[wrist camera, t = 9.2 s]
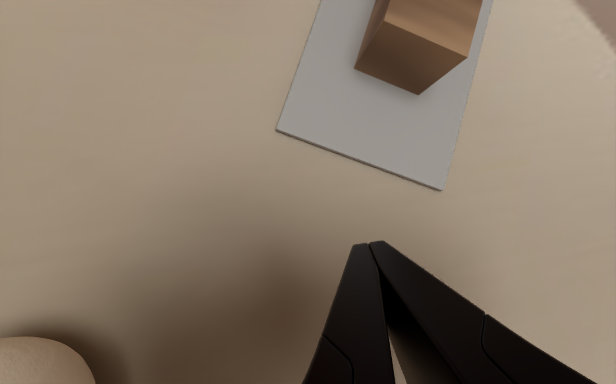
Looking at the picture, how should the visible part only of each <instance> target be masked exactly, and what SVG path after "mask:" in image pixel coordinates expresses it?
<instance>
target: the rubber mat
mask: <svg viewBox="0 0 616 384" xmlns="http://www.w3.org/2000/svg"><path fill="white" fill-rule="evenodd" d="M375 1H376V0H322V1H321V4H320V6H319V9H318V12H317V15H316V18H315V21H314V23H313V26H312V29H311V32H310V35H309V38H308V40H307V43H306V46H305V49H304V52H303V55H302V57H301V60H300V63H299V66H298V69H297V72H296V74H295V77H294V80H293V83H292V86H291V89H290V91H289V94H288V97H287V100H286V103H285V105H284V108H283V111H282V114H281V117H280V120H279V122H278V125H277V128H276V131H278V132H280V133H283V134H286V135H289V136H291V137H294V138H297V139H299V140H302V141H305V142H308V143H310V144H313V145H316V146H318V147H321V148H324V149H326V150H329V151H332V152H335V153H337V154H340V155H343V156H345V157H348V158H351V159H354V160H356V161H359V162H362V163H364V164H367V165H370V166H373V167H375V168H378V169H381V170H383V171H386V172H389V173H392V174H394V175H397V176H400V177H402V178H405V179H408V180H411V181H413V182H416V183H419V184H421V185H424V186H427V187H430V188H432V189H435V190H438V191H444V187H445V183H446V179H447V175H448V172H449V168H450V164H451V160H452V156H453V153H454V149H455V145H456V141H457V137H458V133H459V130H460V126H461V122H462V118H463V114H464V110H465V107H466V103H467V99H468V95H469V91H470V87H471V84H472V80H473V76H474V72H475V68H476V65H477V61H478V57H479V53H480V49H481V45H482V42H483V38H484V34H485V30H486V26H487V22H488V19H489V15H490V11H491V7H492V3H493V0H483V2H482V6H481V9H480V13H479V17H478V21H477V24H476V28H475V32H474V36H473V39H472V43H471V47H470V51H469V54H468V58H466V59H465V60H464V61H462V62H461V63H460V64H458V65H457V66H456V67H455V68H453V69H452V70H451V71H449V72H448V73H447V74H446V75H444V76H443V77H442V78H440V79H439V80H438V81H436V82H435V83H434V84H433V85H431V86H430V87H429V88H427V89H426V90H425V91H424V92H422V93H421V94H420V95H416V94H414V93H411V92H409V91H407V90H404V89H402V88H399V87H397V86H394V85H392V84H390V83H387V82H385V81H382V80H380V79H377V78H375V77H373V76H370V75H368V74H365V73H363V72H360V71H358V70H355V69H354V66H355V63H356V59H357V56H358V53H359V50H360V47H361V44H362V41H363V38H364V35H365V32H366V29H367V26H368V22H369V19H370V16H371V13H372V10H373V7H374V4H375Z"/></svg>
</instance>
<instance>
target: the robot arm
mask: <svg viewBox="0 0 616 384" xmlns="http://www.w3.org/2000/svg"><path fill="white" fill-rule="evenodd" d="M388 335H389V336H388ZM389 338H390V340H391V343H392V345H393V348H394V351H395V353H396V356H397V359H398V361H399V364H400V366H401V369H402V372H403V374H404V377H405V379H406V382H407V384H597V383H595V382H593V381H592V380H590V379H588V378H587V377H585V376H583V375H582V374H580V373H578V372H577V371H575V370H573V369H572V368H570V367H568V366H567V365H565V364H563V363H562V362H560V361H558V360H557V359H555V358H554V357H552V356H550V355H549V354H547V353H546V352H544V351H542V350H541V349H539V348H537V347H536V346H534V345H533V344H531V343H530V342H528V341H527V340H525V339H524V338H522V337H521V336H519V335H518V334H516V333H515V332H513V331H512V330H510V329H509V328H507V327H506V326H504V325H503V324H501V323H500V322H499V321H497V320H496V319H494V318H493V317H491V316H490V315H489V314H486V315H485V312H484V311H483V310H481V309H480V308H478V307H477V306H476V305H474V304H473V303H471V302H470V301H469V300H467V299H466V298H464V297H463V296H461V295H460V294H459V293H457V292H456V291H454V290H453V289H452V288H450V287H449V286H447V285H446V284H444V283H443V282H442V281H440V280H439V279H437V278H436V277H434V276H433V275H432V274H430V273H429V272H427V271H426V270H425V269H423V268H422V267H420V266H419V265H417V264H416V263H415V262H413V261H412V260H410V259H409V258H408V257H406V256H405V255H403V254H402V253H400V252H399V251H398V250H396V249H395V248H393V247H392V246H391V245H389V244H388V243H386V242H385V241H382V240H381V241H375V242H370V243H369V244H367V243H362V244H355V245H353V246H352V249H351V252H350V255H349V258H348V260H347V263H346V266H345V269H344V272H343V275H342V278H341V280H340V283H339V286H338V289H337V292H336V295H335V298H334V300H333V303H332V306H331V309H330V312H329V315H328V317H327V320H326V323H325V326H324V329H323V332H322V337H320V340H319V343H318V346H317V348H316V351H315V354H314V356H313V359H312V361H311V364H310V367H309V369H308V372H307V374H306V376H305V378H304V380H303V382H302V384H395V377H394V370H393V363H392V356H391V350H390V343H389Z"/></svg>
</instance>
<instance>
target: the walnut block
mask: <svg viewBox="0 0 616 384" xmlns="http://www.w3.org/2000/svg"><path fill="white" fill-rule="evenodd" d="M482 2H483V0H376V1H375V4H374V7H373V10H372V13H371V16H370V19H369V22H368V26H367V29H366V32H365V35H364V38H363V41H362V44H361V47H360V50H359V53H358V56H357V59H356V63H355V66H354V69H355V70H358V71H360V72H363V73H365V74H368V75H370V76H373V77H375V78H377V79H380V80H382V81H385V82H387V83H390V84H392V85H394V86H397V87H399V88H402V89H404V90H407V91H409V92H411V93H414V94H416V95H420V94H421V93H422V92H424V91H425V90H426V89H427V88H429V87H430V86H431V85H433V84H434V83H435V82H436V81H438V80H439V79H440V78H442V77H443V76H444V75H446V74H447V73H448V72H449V71H451V70H452V69H453V68H455V67H456V66H457V65H458V64H460V63H461V62H462V61H464V60H465V59H466V58H468V54H469V51H470V47H471V43H472V39H473V36H474V32H475V28H476V24H477V21H478V17H479V13H480V9H481V6H482Z"/></svg>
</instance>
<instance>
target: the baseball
mask: <svg viewBox="0 0 616 384" xmlns="http://www.w3.org/2000/svg"><path fill="white" fill-rule="evenodd" d="M0 384H96V383H95V380H94V377H93V375H92V372H91V371H90V369H89V367H88V366H87V364H86V362H85V361H84V359H83V358H82V357H81V356H80V355H79V354H78V353H77V352H75V351H74V350H73V349H71V348H70V347H68V346H67V345H64V344H63V343H60V342H57V341H54V340H50V339H45V338H39V337H7V338H0Z"/></svg>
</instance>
